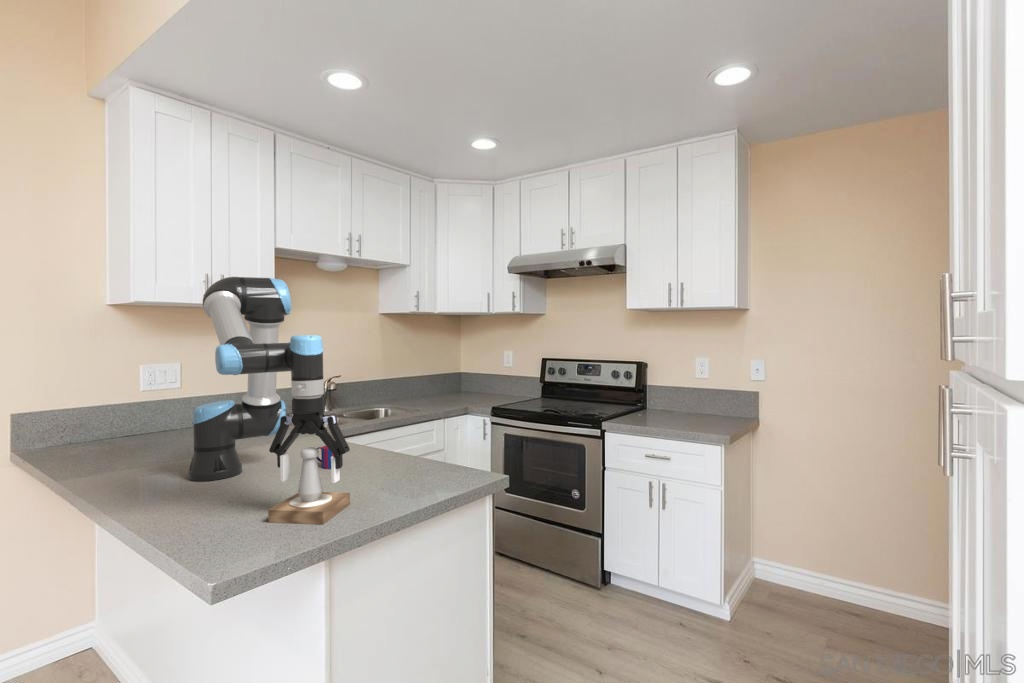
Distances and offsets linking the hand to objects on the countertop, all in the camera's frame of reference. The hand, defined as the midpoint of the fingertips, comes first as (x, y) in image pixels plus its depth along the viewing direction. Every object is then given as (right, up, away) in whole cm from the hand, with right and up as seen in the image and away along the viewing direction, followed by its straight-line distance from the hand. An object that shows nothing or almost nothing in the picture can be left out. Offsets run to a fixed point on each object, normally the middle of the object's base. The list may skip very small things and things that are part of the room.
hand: (310, 480), depth 129 cm
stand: (0, -8, 0) cm, 8 cm away
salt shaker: (0, -5, 0) cm, 5 cm away
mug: (-12, -8, +45) cm, 47 cm away
